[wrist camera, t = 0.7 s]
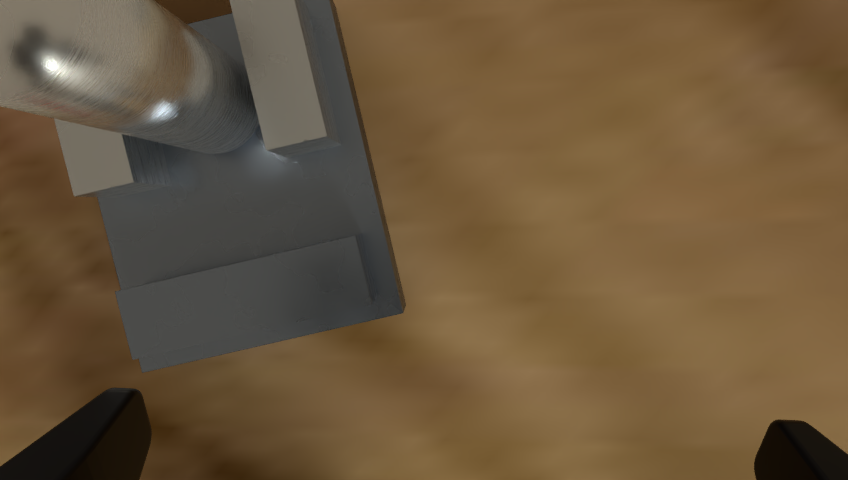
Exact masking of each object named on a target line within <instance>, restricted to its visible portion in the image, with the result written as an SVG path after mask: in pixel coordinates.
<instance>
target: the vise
mask: <svg viewBox="0 0 848 480" xmlns="http://www.w3.org/2000/svg"><path fill="white" fill-rule="evenodd" d="M230 4H231V8H232V13H231V14H227V15H223V16H219V17H215V18H211V19H207V20H203V21H199V22H194V23H190V24H187V25H189V26H190V27H192V28H193V29H194V30H196V31H197V32H198V33H200V34H201V35H203V36H204V37H205V38H207V39H208V40H209V41H211V42H212V43H214V44H215V45H216V46H218V47H219V48H220V49H222V50H223V51H225V52H226V53H227V54H229V55H230V56H231V57H233V58H234V59H236V60H237V61H238V62H240V63H241V64H242V65H244V66H245V67H246V70H247V74H248V78H249V82H250V87H251V91H252V95H253V99H254V103H255V107H256V111H257V115H258V119H259V124H258V126H257V128H256V130H255V131H254V133H253V134H252V136H251V137H250V138H249V139H248V140H247V141H246V142H245V143H244V144H242V145H241V146H239V147H238V148H236V149H234V150H232V151H229V152H226V153H220V154H208V153H202V152H198V151H194V150H189V149H185V148H181V147H176V146H172V145H167V144H163V143H159V142H154V141H150V140H146V139H141V138H137V137H133V136H128V135H124V134H120V133H115V132H111V131H107V130H102V129H98V128H94V127H89V126H85V125H81V124H76V123H72V122H67V121H63V120H59V119H54V120H55V124H56V128H57V132H58V136H59V140H60V144H61V148H62V151H63V155H64V159H65V163H66V167H67V171H68V175H69V179H70V182H71V186H72V190H73V194H74V196H80V197H97V198H98V202H99V205H100V209H101V213H102V217H103V221H104V225H105V229H106V233H107V237H108V241H109V244H110V248H111V252H112V256H113V260H114V264H115V268H116V272H117V276H118V280H119V284H120V287H121V290H119V291H115V294H116V298H117V302H118V305H119V309H120V313H121V317H122V321H123V325H124V329H125V333H126V337H127V341H128V344H129V348H130V352H131V356H132V360H134V359H138V358H139V362H140V366H141V369H142V373H143V372H147V371H152V370H156V369H160V368H165V367H169V366H174V365H178V364H182V363H187V362H191V361H195V360H200V359H204V358H209V357H213V356H217V355H222V354H226V353H230V352H235V351H239V350H244V349H248V348H252V347H257V346H261V345H265V344H270V343H274V342H279V341H283V340H287V339H292V338H296V337H300V336H305V335H309V334H314V333H318V332H322V331H327V330H331V329H335V328H340V327H344V326H349V325H353V324H357V323H362V322H366V321H370V320H375V319H379V318H384V317H388V316H392V315H397V314H401V313H403V312H404V309H405V306H406V303H405V299H404V295H403V290H402V286H401V282H400V278H399V273H398V269H397V265H396V261H395V256H394V252H393V248H392V244H391V239H390V235H389V231H388V227H387V223H386V218H385V214H384V210H383V206H382V201H381V197H380V193H379V189H378V184H377V180H376V176H375V172H374V167H373V163H372V159H371V155H370V151H369V146H368V142H367V138H366V134H365V129H364V125H363V121H362V117H361V112H360V108H359V104H358V100H357V95H356V91H355V87H354V83H353V78H352V74H351V70H350V66H349V62H348V57H347V53H346V49H345V45H344V40H343V36H342V32H341V28H340V23H339V19H338V15H337V11H336V7H335V5H334V3H333V1H332V0H230Z"/></svg>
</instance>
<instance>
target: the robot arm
mask: <svg viewBox="0 0 848 480" xmlns="http://www.w3.org/2000/svg"><path fill="white" fill-rule="evenodd" d="M151 435H152V432H151V425H150V422H149V418H148V414H147V411H146V407H145V403H144V400H143V396H142V394H141V392H140V391H139V390H137V389H130V388H110V389H108V390H106V391H104V392H103V393H101V394H100V395H98V396H97V397H96V398H94V399H93V400H91V401H90V402H89V403H87V404H86V405H85V406H83V407H82V408H80V409H79V410H78V411H76V412H75V413H74V414H72V415H71V416H69V417H68V418H67V419H65V420H64V421H63V422H61V423H60V424H58V425H57V426H56V427H54V428H53V429H51V430H50V431H49V432H47V433H46V434H45V435H43V436H42V437H40V438H39V439H38V440H36V441H35V442H34V443H32V444H31V445H29V446H28V447H27V448H25V449H24V450H23V451H21V452H20V453H18V454H17V455H16V456H14V457H13V458H11V459H10V460H9V461H7V462H6V463H5V464H3V465H2V466H0V480H139V479H140V476H141V472H142V469H143V466H144V463H145V460H146V456H147V453H148V450H149V447H150V443H151ZM754 470H755V476H756V480H848V454H847V453H845V452H844V451H843V450H842V449H840V448H839V447H838V446H836V445H835V444H834V443H833V442H831V441H830V440H829V439H828V438H826V437H825V436H824V435H822V434H821V433H820V432H819V431H817V430H816V429H815V428H814V427H812V426H811V425H809V424H808V423H806V422H804V421H798V420H775V421H773V422H772V423H771V424H770V425H769V427H768V430H767V432H766V434H765V436H764V439H763V441H762V443H761V446H760V448H759V450H758V452H757V455H756V458H755V462H754Z"/></svg>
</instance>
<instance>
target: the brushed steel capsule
mask: <svg viewBox="0 0 848 480" xmlns="http://www.w3.org/2000/svg"><path fill="white" fill-rule="evenodd" d="M0 106H2V107H7V108H11V109H15V110H20V111H24V112H28V113H33V114H37V115H41V116H46V117H50V118H54V119H59V120H63V121H67V122H72V123H76V124H81V125H85V126H89V127H94V128H98V129H102V130H107V131H111V132H115V133H120V134H124V135H128V136H133V137H137V138H141V139H146V140H150V141H154V142H159V143H163V144H167V145H172V146H176V147H181V148H185V149H189V150H194V151H198V152H202V153H208V154H220V153H226V152H229V151H232V150H234V149H236V148H238V147H239V146H241V145H242V144H244V143H245V142H246V141H247V140H248V139H249V138H250V137H251V136H252V134H253V133H254V131H255V130H256V128H257V126H258V124H259V119H258V115H257V111H256V107H255V103H254V99H253V95H252V91H251V87H250V82H249V78H248V74H247V70H246V67H245V66H244V65H242V64H241V63H240V62H238V61H237V60H236V59H234V58H233V57H231V56H230V55H229V54H227V53H226V52H225V51H223V50H222V49H220V48H219V47H218V46H216V45H215V44H214V43H212V42H211V41H209V40H208V39H207V38H205V37H204V36H203V35H201V34H200V33H198V32H197V31H196V30H194V29H193V28H192V27H190V26H189V25H187V24H186V23H185V22H183V21H182V20H181V19H179V18H178V17H176V16H175V15H174V14H172V13H171V12H170V11H168V10H167V9H165V8H164V7H163V6H161V5H160V4H159V3H157V2H156V1H154V0H0Z"/></svg>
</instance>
